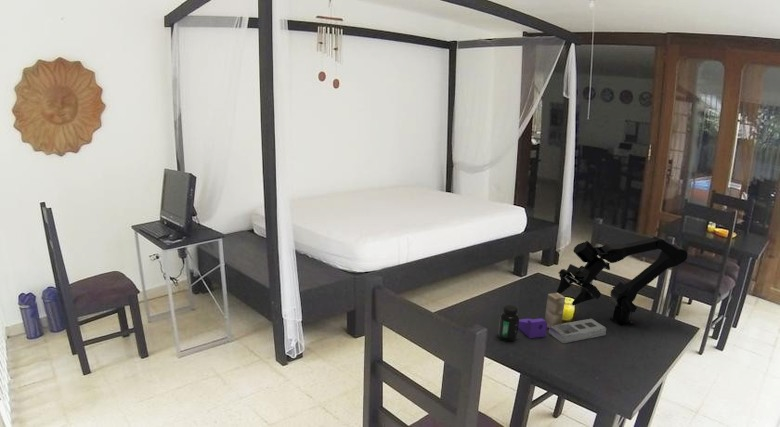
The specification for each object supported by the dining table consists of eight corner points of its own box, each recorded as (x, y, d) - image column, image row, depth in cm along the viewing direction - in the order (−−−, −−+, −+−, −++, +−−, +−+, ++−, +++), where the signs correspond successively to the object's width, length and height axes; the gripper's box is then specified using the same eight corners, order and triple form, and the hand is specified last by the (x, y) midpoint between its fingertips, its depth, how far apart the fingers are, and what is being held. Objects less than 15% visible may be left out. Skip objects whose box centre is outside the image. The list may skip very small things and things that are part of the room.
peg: (553, 322, 195) (557, 292, 192) (560, 328, 191) (565, 297, 188) (544, 324, 194) (548, 294, 190) (551, 329, 190) (555, 298, 186)
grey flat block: (590, 325, 194) (591, 318, 193) (605, 335, 187) (606, 327, 186) (548, 333, 187) (549, 325, 186) (562, 343, 180) (563, 335, 179)
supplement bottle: (505, 343, 179) (508, 313, 176) (494, 334, 185) (497, 305, 182) (520, 340, 182) (524, 310, 178) (509, 331, 188) (512, 302, 184)
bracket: (545, 337, 185) (547, 320, 183) (529, 339, 183) (531, 322, 181) (528, 322, 196) (530, 306, 194) (512, 323, 194) (514, 308, 192)
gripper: (565, 249, 197) (539, 278, 196) (599, 266, 180) (570, 297, 179) (578, 266, 202) (552, 294, 201) (612, 284, 185) (585, 314, 184)
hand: (564, 299), depth 191 cm, fingers open, 9 cm apart
